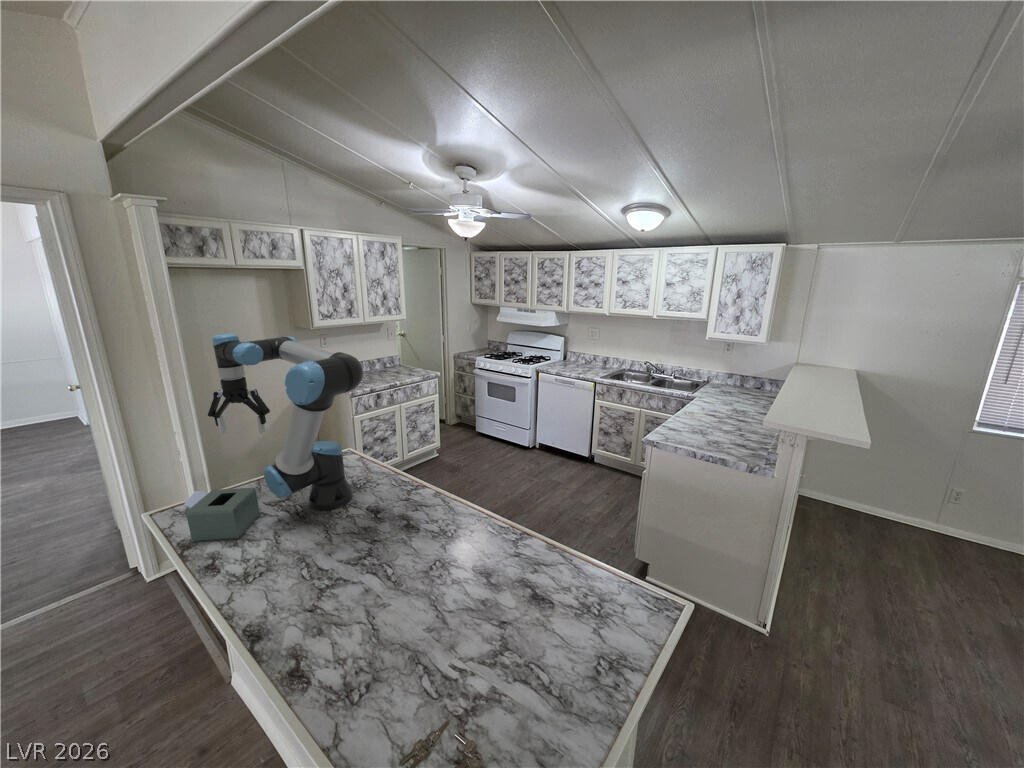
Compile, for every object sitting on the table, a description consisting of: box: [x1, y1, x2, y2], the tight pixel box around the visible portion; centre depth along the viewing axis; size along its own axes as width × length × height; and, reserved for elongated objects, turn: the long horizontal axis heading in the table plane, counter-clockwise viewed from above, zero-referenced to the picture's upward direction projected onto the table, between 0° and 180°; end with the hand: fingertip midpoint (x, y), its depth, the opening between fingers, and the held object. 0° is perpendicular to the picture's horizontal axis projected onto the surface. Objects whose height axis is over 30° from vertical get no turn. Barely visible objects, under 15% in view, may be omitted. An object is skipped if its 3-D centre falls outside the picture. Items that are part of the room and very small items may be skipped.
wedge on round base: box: [183, 490, 209, 509], centre depth 146 cm, size 9×7×13 cm
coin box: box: [185, 487, 261, 543], centre depth 135 cm, size 14×14×11 cm
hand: (243, 433), depth 149 cm, fingers open, 13 cm apart
